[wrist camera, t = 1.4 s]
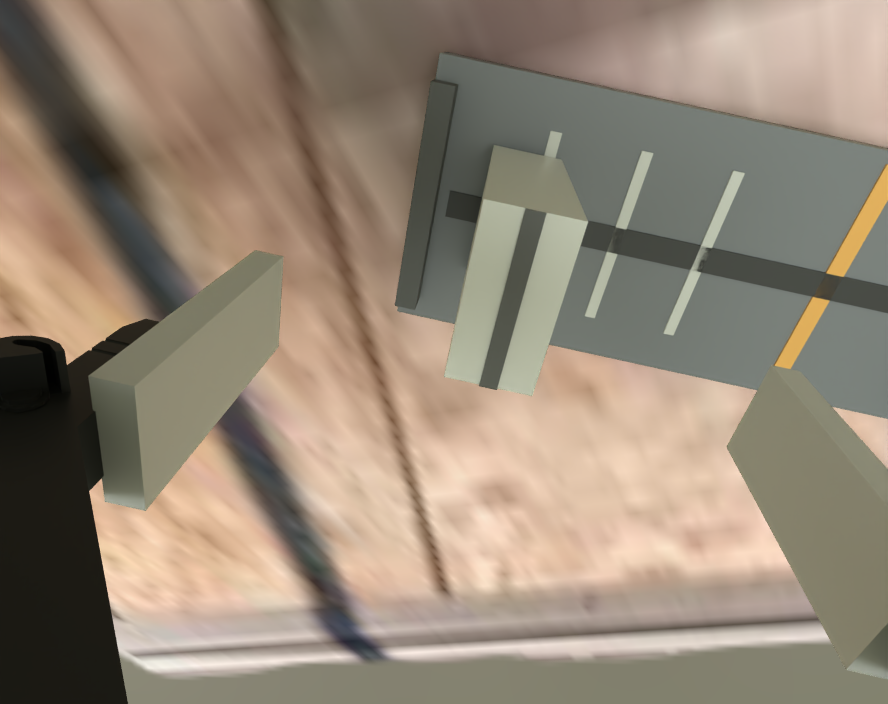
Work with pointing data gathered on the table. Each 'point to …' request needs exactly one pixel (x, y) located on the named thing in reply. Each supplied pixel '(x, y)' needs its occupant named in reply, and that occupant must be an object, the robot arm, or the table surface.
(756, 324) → the fader console
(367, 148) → the table surface
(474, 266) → the fader handle
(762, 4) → the table surface
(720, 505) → the table surface
